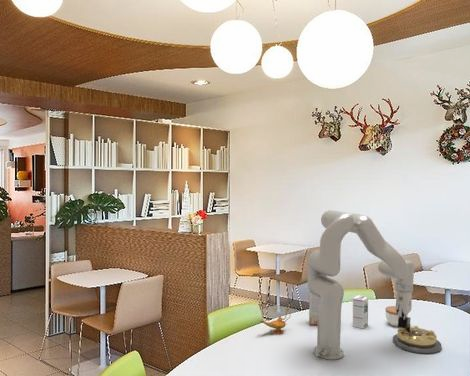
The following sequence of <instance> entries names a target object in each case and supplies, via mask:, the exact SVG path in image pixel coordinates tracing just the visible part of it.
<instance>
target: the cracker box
mask: <svg viewBox="0 0 470 376" xmlns="http://www.w3.org/2000/svg"><path fill="white" fill-rule="evenodd" d="M308 291H309V290H308ZM308 295H309V298H308V299H309V301H308V304H309V305H308V306H309V307H308V309H309V310H308V311H309V312H308V322H309V326H318V308H319V305H320V303H321V299H320V298H319V297H317V296H315V295H313V294H312V293H311V292H310V291H309V294H308Z"/></svg>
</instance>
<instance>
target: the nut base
mask: <svg viewBox="0 0 470 376" xmlns="http://www.w3.org/2000/svg"><path fill="white" fill-rule="evenodd" d="M397 335H398V333H396V334H393V336H392V343H394V344H395V345H396V346H395V345H394V344H393V345H394V346H395V347H396V348H398V347H399V348H398V349H400V348H401V349H400V350H403V351H405V352H408V353H413V354H419V355H433V354H438V353H440V351H442V343H441V342H440V341H439V340H438V339H437V340H436V346H434V347H431V348H417V347H412V346H408V345H406V344H403V343H401V342H400V341H399V340H398V338H397Z"/></svg>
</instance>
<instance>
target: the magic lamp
mask: <svg viewBox="0 0 470 376" xmlns="http://www.w3.org/2000/svg"><path fill="white" fill-rule="evenodd" d="M285 310H286V311H287V313H285V316H284V318H283V317H282V316H281V315H279V316H278V318H277V319H275V320H272V321H270V322H267V321H263V320H260V321H259V322H260V323H262V324H264V325H266V326H267V327H269V328H272V329H273V330H272V332H273V333H274V334H277V335H278V334H279V335H280V334H281V335H282V334H283V333H284V330H282V329H284V328H285V327H286V326H287V325H288V324H287V323H286V322H287V321H288V320H289V319H290V318H291V315H292V314H291V312H290V306H288V307H286V309H285ZM288 313H289V316H288V317H287V315H288ZM284 320H285V321H284Z"/></svg>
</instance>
